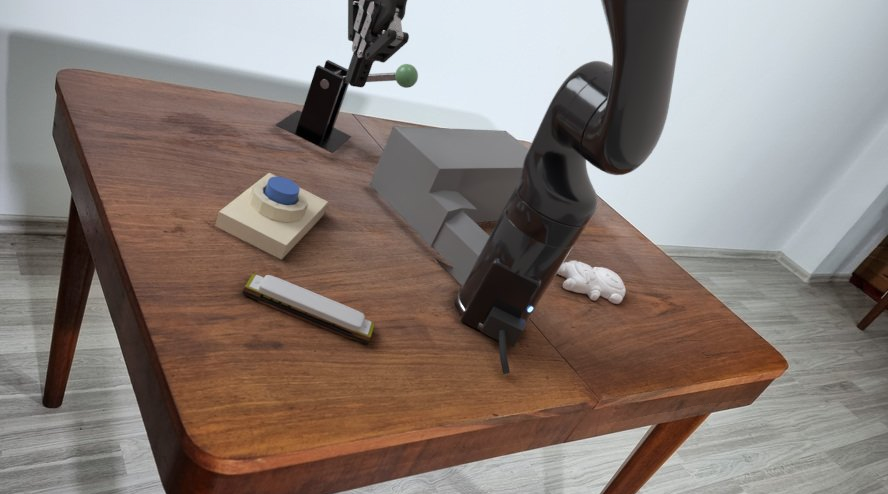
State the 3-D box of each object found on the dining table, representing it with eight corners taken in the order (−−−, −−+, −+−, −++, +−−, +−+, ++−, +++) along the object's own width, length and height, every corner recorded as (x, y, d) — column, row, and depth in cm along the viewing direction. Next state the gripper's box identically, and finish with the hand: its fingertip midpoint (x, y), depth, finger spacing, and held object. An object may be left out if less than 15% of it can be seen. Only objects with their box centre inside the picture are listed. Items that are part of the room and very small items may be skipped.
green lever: (421, 84, 107) (419, 61, 105) (415, 89, 104) (413, 65, 103) (328, 89, 112) (325, 66, 110) (320, 94, 109) (317, 71, 107)
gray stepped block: (463, 289, 94) (499, 222, 88) (367, 190, 106) (393, 126, 101) (572, 269, 110) (608, 212, 104) (478, 186, 123) (505, 130, 117)
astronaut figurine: (546, 259, 110) (555, 244, 108) (610, 276, 113) (620, 261, 112) (564, 294, 103) (574, 278, 101) (632, 311, 107) (643, 296, 105)
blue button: (287, 210, 87) (292, 198, 86) (259, 195, 87) (262, 183, 86) (300, 198, 90) (304, 186, 89) (272, 184, 90) (276, 172, 89)
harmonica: (241, 296, 76) (245, 281, 75) (250, 281, 79) (254, 267, 78) (366, 347, 77) (372, 333, 76) (371, 330, 80) (377, 317, 79)
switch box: (281, 260, 84) (290, 232, 82) (214, 226, 85) (222, 198, 83) (323, 215, 96) (332, 190, 94) (264, 186, 96) (272, 160, 94)
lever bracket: (349, 142, 118) (373, 76, 111) (330, 159, 110) (354, 90, 104) (295, 116, 118) (316, 49, 112) (273, 131, 111) (294, 60, 104)
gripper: (350, -84, 82) (309, 56, 92) (400, -45, 74) (348, 105, 83) (404, -68, 86) (359, 65, 96) (456, -29, 78) (401, 113, 87)
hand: (354, 84), depth 89 cm, fingers closed
